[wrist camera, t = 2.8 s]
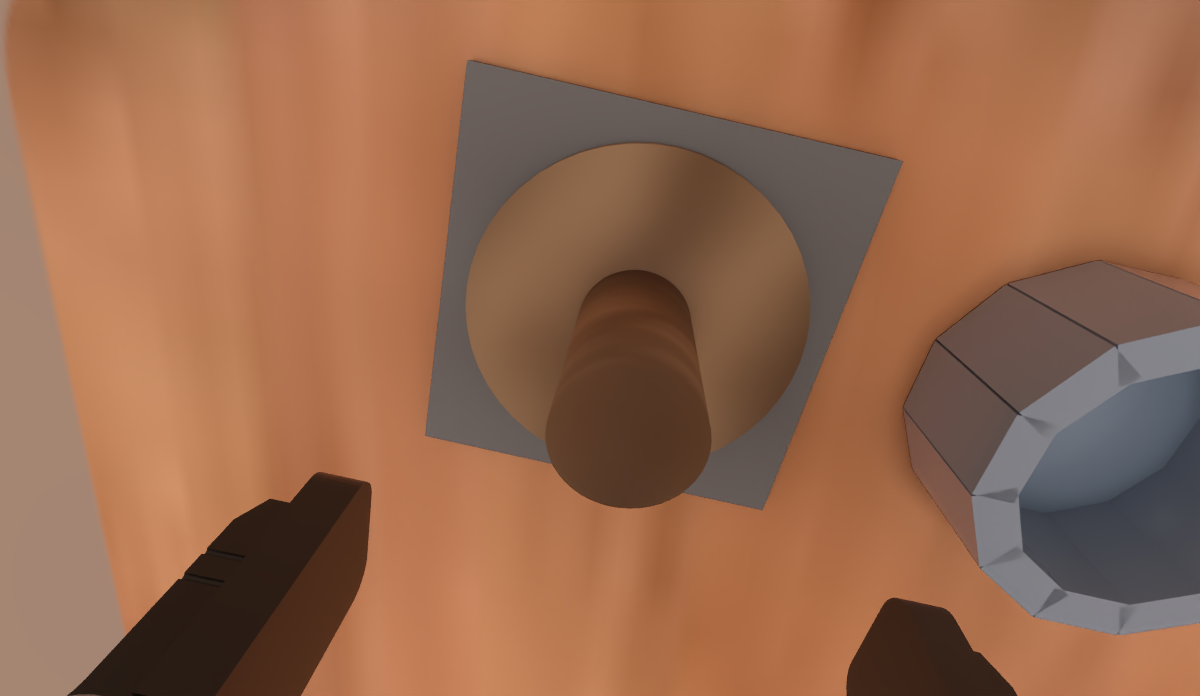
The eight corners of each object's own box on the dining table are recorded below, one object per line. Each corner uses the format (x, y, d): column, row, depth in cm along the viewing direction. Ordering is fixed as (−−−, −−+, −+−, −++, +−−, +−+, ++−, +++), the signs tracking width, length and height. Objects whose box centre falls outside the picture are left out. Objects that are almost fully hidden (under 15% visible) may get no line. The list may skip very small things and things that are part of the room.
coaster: (896, 159, 18) (903, 161, 18) (760, 502, 24) (762, 510, 23) (471, 60, 18) (467, 59, 18) (429, 428, 23) (425, 435, 23)
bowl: (1292, 305, 19) (1493, 374, 15) (1117, 547, 23) (1232, 660, 19) (985, 233, 19) (1093, 281, 14) (862, 490, 23) (916, 591, 18)
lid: (857, 188, 18) (990, 256, 11) (744, 483, 23) (788, 667, 16) (496, 104, 18) (398, 118, 11) (454, 418, 23) (364, 574, 15)
